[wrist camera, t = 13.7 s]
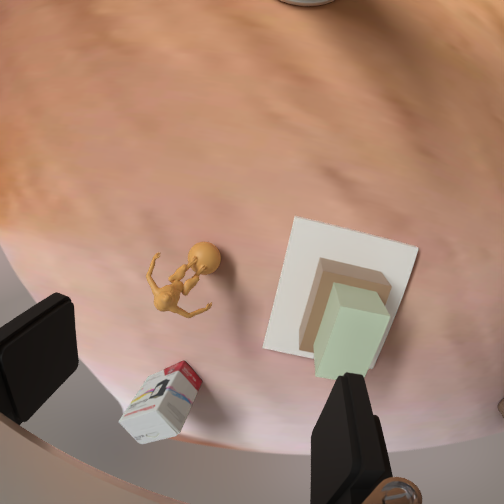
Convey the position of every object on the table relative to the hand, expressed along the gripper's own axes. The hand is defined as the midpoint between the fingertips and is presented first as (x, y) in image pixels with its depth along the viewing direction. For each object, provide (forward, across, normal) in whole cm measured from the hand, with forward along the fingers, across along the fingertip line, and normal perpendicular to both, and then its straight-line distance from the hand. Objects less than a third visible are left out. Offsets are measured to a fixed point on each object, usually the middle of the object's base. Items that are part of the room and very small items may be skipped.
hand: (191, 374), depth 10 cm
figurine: (+31, +7, +7) cm, 32 cm away
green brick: (+24, -11, +8) cm, 28 cm away
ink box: (+31, +9, +28) cm, 42 cm away
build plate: (+30, -11, +8) cm, 33 cm away
